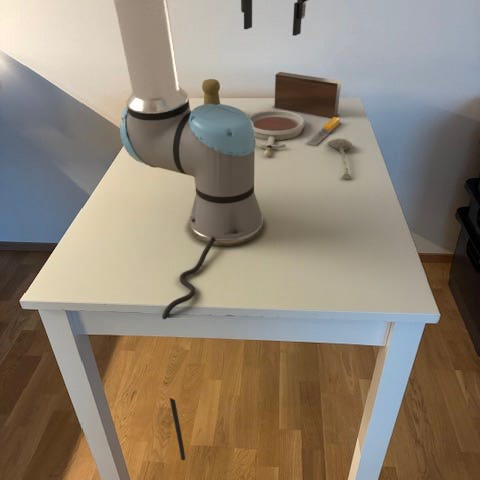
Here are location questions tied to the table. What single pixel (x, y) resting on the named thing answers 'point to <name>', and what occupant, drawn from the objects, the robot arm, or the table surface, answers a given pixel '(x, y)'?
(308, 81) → the wooden block
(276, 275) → the table surface
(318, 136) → the knife
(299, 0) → the robot arm
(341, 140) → the soupspoon
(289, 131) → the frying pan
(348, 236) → the table surface
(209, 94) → the cork
